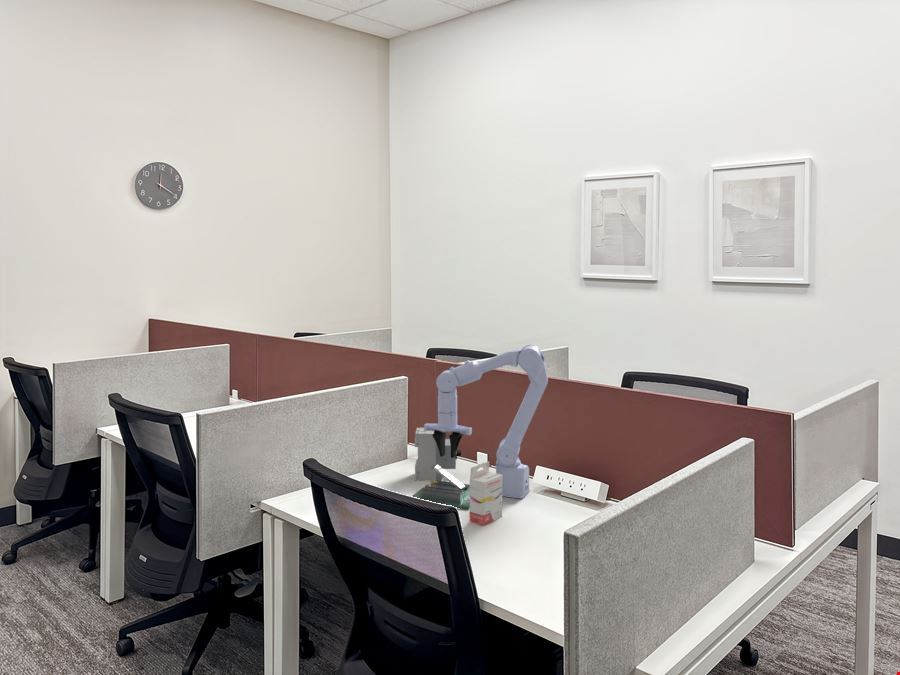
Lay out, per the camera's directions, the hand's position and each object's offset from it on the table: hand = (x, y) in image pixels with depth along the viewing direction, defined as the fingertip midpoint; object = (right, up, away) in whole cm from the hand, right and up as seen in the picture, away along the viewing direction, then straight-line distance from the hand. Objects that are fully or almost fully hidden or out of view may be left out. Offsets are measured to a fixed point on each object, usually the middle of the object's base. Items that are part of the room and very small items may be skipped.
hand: (447, 456), depth 208 cm
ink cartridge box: (+10, -13, -22) cm, 28 cm away
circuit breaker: (-3, -9, +13) cm, 16 cm away
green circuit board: (0, -11, -6) cm, 13 cm away
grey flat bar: (0, -5, -7) cm, 9 cm away
